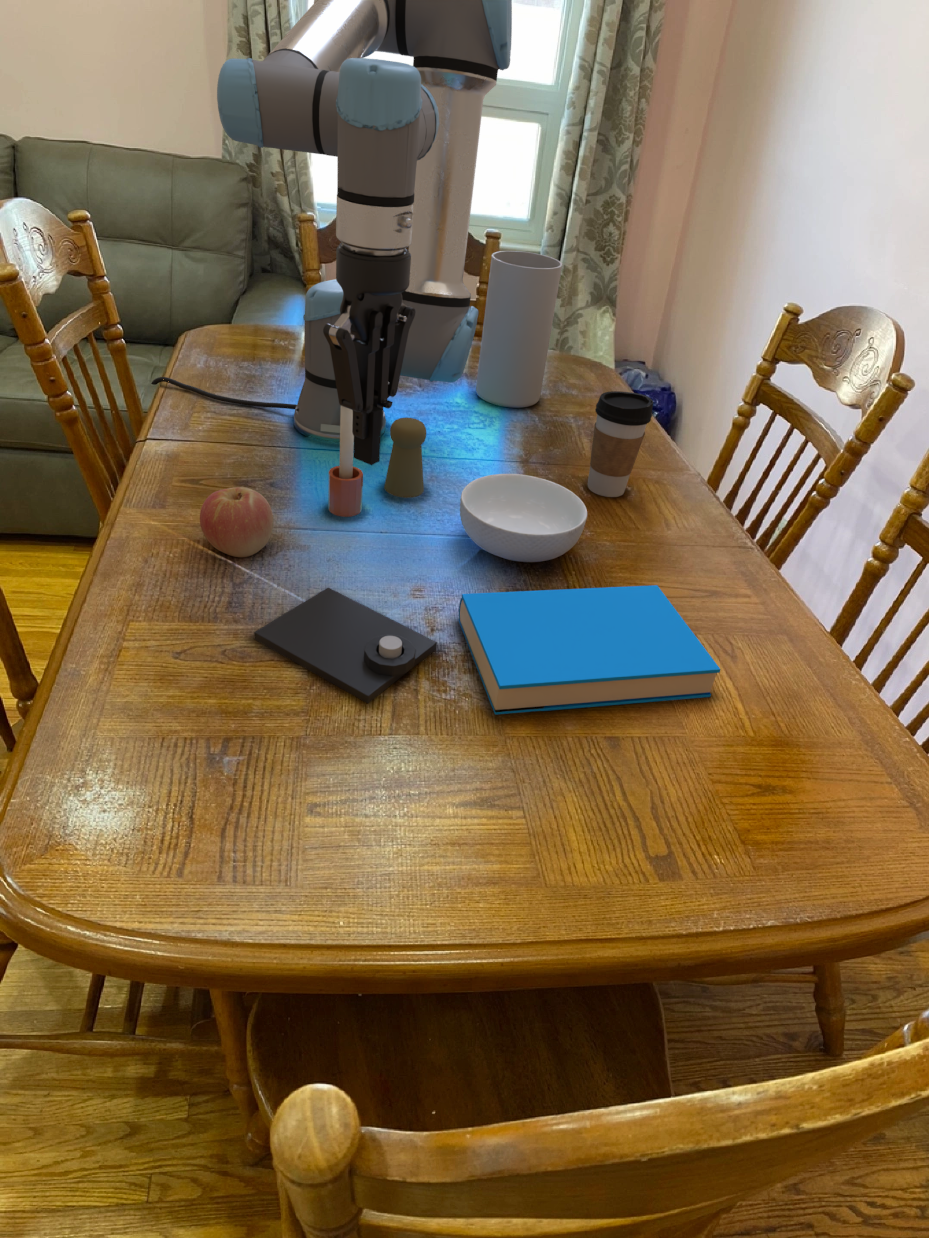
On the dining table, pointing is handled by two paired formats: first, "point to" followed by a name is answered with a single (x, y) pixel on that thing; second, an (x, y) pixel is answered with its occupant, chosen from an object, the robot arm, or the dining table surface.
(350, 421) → the beige rod
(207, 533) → the apple
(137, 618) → the dining table surface
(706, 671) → the book
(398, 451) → the cork
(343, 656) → the tablet
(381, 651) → the button
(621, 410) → the coffee cup
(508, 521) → the cereal bowl
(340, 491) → the pen pot
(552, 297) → the cylinder vase
